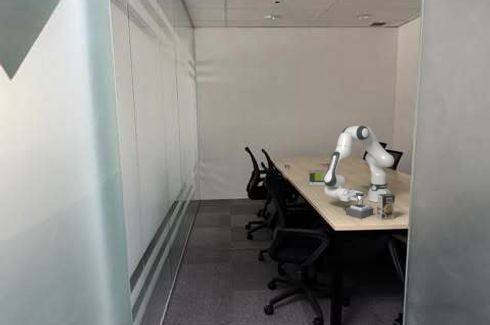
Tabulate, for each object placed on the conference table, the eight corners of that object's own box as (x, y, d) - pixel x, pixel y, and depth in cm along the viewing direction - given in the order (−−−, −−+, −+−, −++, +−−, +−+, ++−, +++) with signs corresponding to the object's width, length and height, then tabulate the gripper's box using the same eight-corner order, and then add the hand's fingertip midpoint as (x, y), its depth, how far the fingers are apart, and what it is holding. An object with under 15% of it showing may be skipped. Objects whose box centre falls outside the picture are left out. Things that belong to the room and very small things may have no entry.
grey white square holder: (358, 211, 243) (358, 202, 242) (373, 215, 233) (373, 205, 232) (346, 214, 235) (346, 205, 234) (361, 219, 225) (361, 209, 224)
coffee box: (382, 220, 222) (383, 196, 220) (376, 217, 228) (377, 194, 226) (394, 219, 224) (395, 195, 222) (388, 216, 230) (389, 193, 228)
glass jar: (358, 206, 237) (358, 192, 236) (365, 207, 233) (365, 193, 232) (354, 207, 234) (354, 193, 233) (360, 209, 230) (360, 194, 229)
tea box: (324, 183, 339) (324, 169, 337) (325, 185, 329) (325, 170, 327) (308, 183, 340) (309, 169, 338) (309, 185, 331) (310, 170, 328)
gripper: (335, 192, 236) (352, 196, 225) (353, 188, 248) (369, 191, 237) (335, 201, 237) (352, 205, 226) (352, 196, 249) (369, 200, 238)
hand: (361, 198), depth 232 cm, fingers open, 6 cm apart
